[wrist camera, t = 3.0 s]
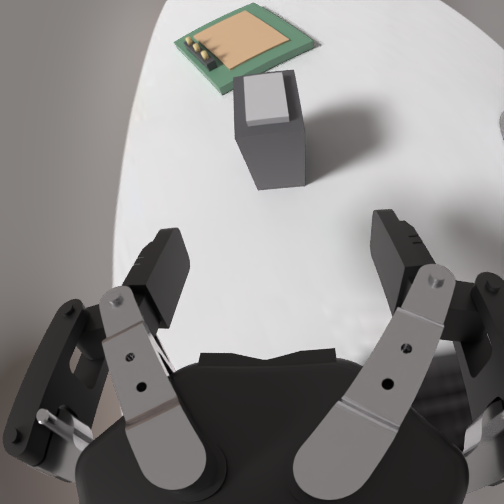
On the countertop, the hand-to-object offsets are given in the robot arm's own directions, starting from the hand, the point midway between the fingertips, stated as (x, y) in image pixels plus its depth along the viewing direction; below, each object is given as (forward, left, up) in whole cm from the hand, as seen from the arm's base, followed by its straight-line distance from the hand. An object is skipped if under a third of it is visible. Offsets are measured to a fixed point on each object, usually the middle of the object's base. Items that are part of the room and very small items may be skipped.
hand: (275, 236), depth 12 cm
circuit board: (-10, -24, -12) cm, 29 cm away
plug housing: (-4, -8, -12) cm, 15 cm away
